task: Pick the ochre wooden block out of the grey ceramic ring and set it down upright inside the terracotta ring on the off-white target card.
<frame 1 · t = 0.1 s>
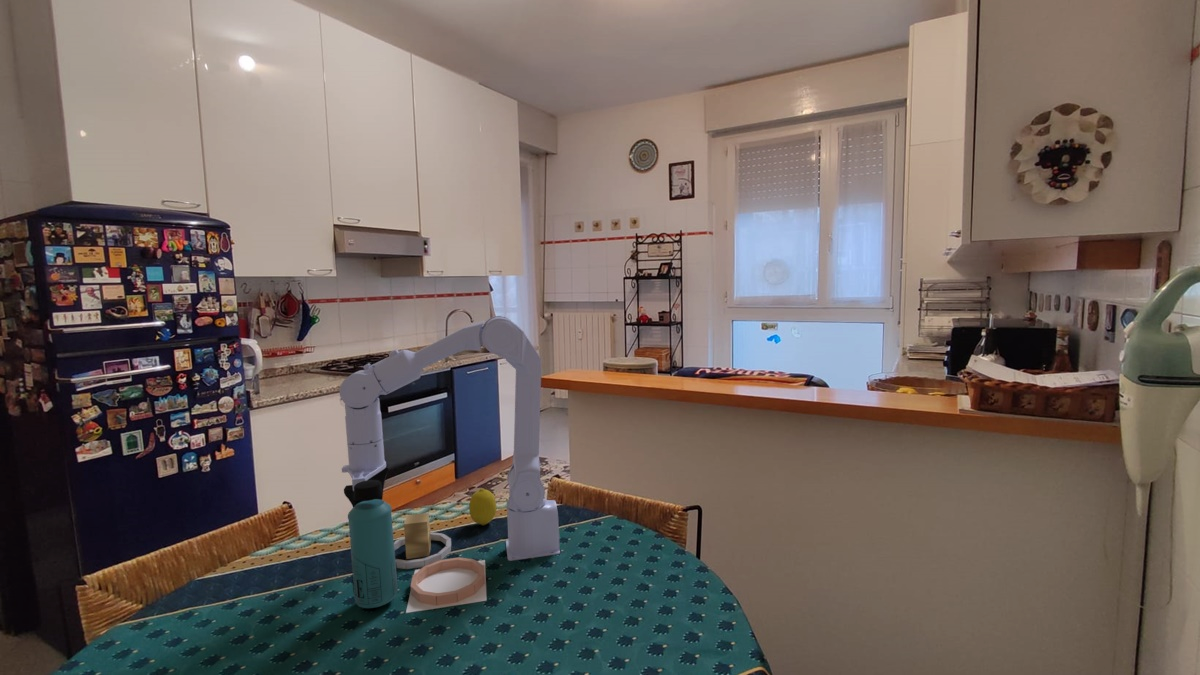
hand: (371, 515, 94), 10 cm above the table, tool pointing down, fingers open, 7 cm apart
target card: (449, 586, 89), on the table
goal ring: (448, 579, 89), on the target card
lemon: (483, 526, 112), on the table
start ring: (419, 554, 100), on the table
beverage bottle: (377, 607, 84), on the table
ochre block: (417, 536, 100), in the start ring
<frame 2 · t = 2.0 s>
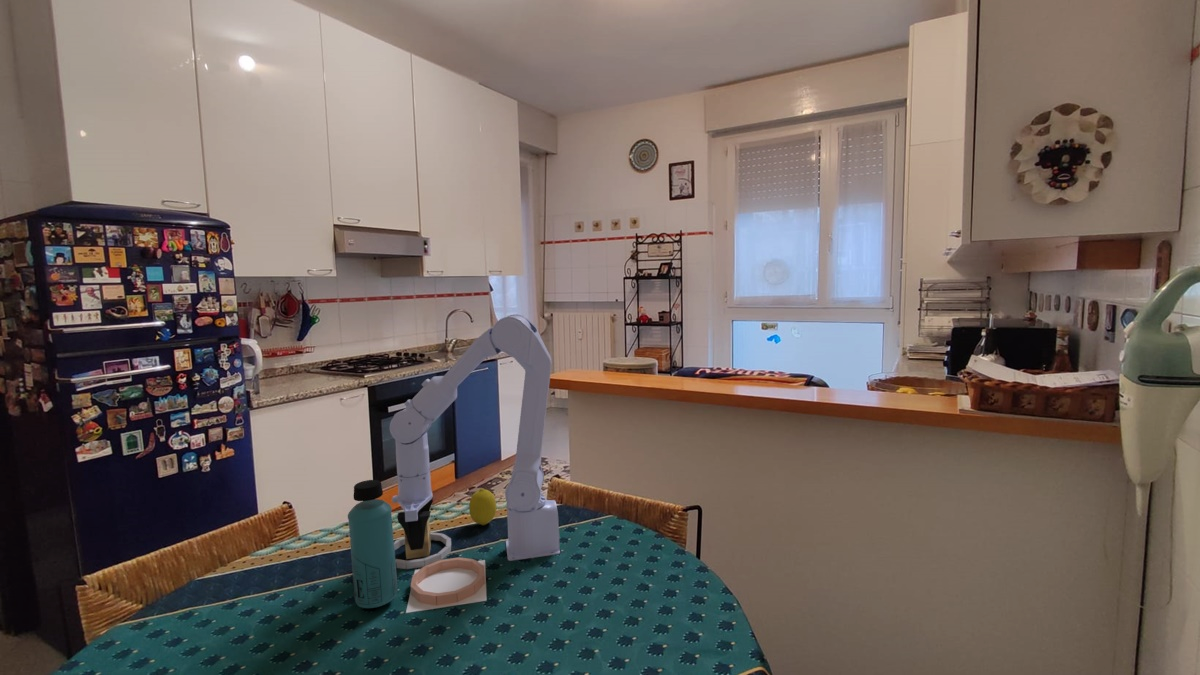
hand: (418, 542, 100), 2 cm above the table, tool pointing down, fingers closed on ochre block, 4 cm apart
ochre block: (417, 536, 100), in the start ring, touching gripper
everything else where it was.
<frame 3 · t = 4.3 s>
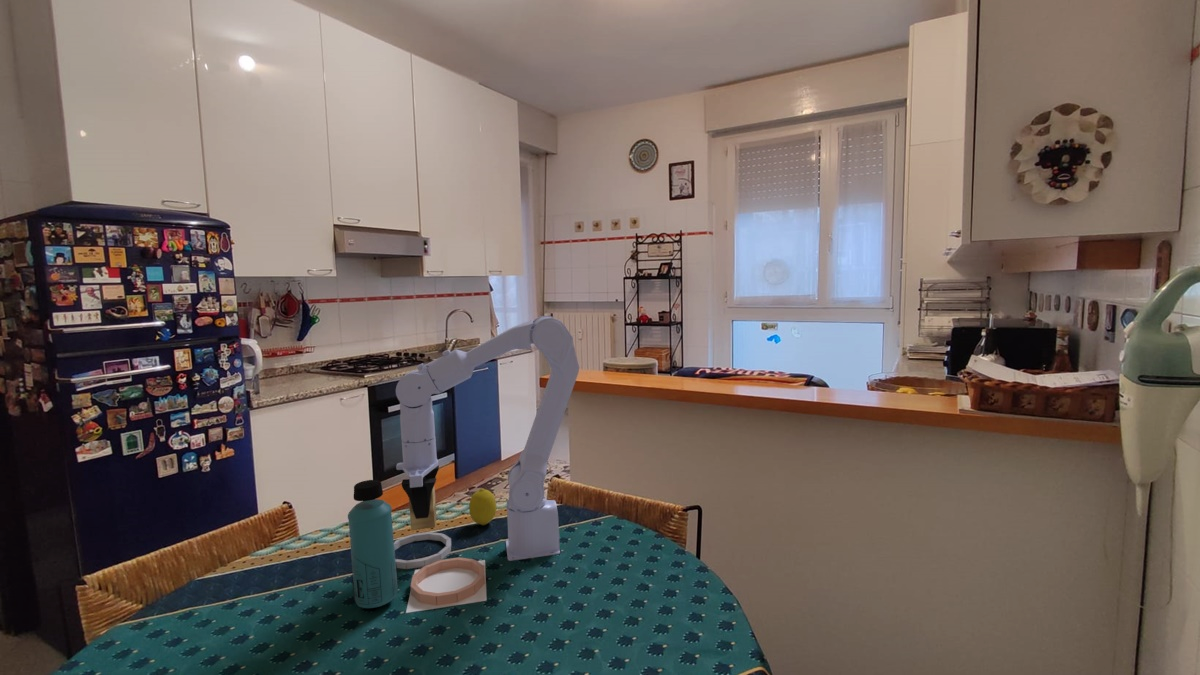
hand: (423, 512, 97), 9 cm above the table, tool pointing down, fingers closed on ochre block, 4 cm apart
ochre block: (422, 505, 97), point 11 cm above the table, touching gripper
everything else where it was.
when the fingers open (4 cm above the table, at t = 6.9 s): ochre block stays where it is, resting on target card.
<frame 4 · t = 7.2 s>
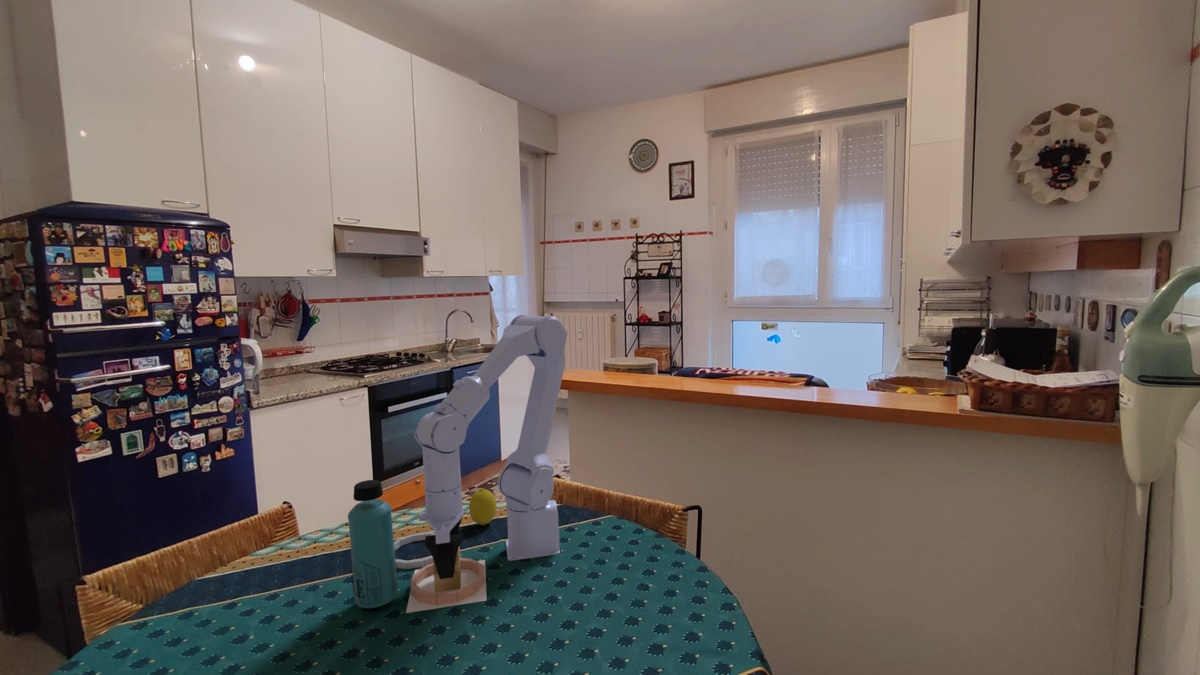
hand: (447, 565, 89), 4 cm above the table, tool pointing down, fingers open, 7 cm apart
ochre block: (447, 564, 89), in the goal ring, touching target card
everything else where it was.
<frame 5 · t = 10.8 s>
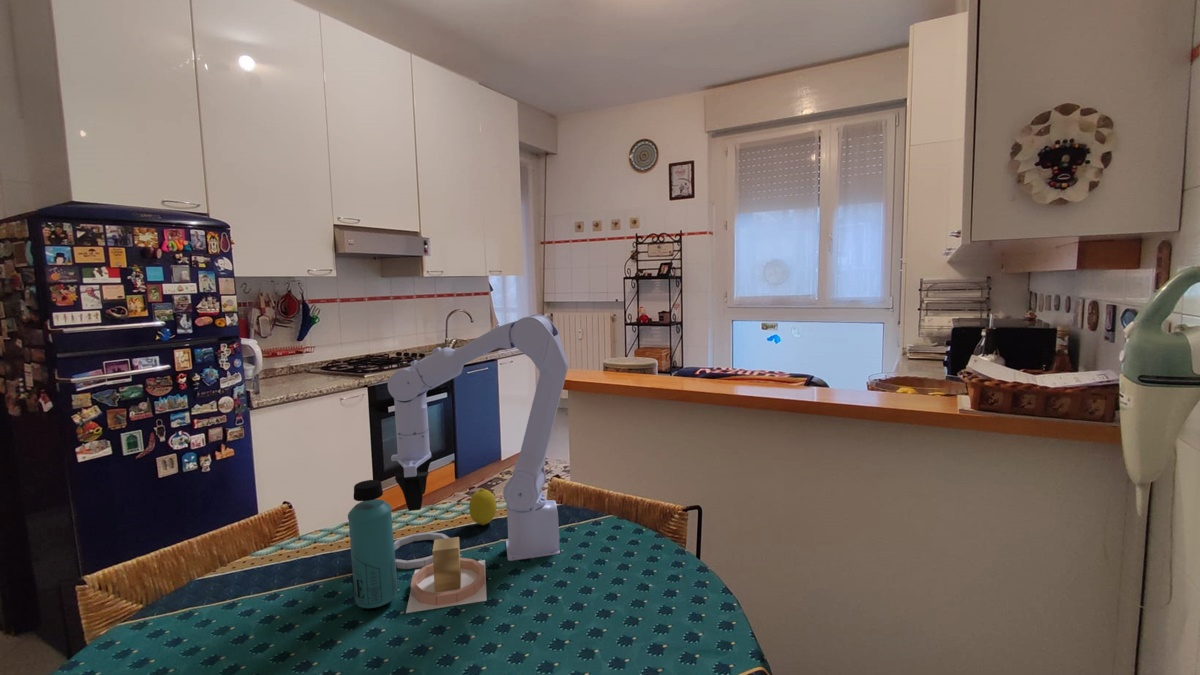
hand: (417, 501, 102), 9 cm above the table, tool pointing down, fingers open, 7 cm apart
nothing on the table moved.
at the end: ochre block 0.1 cm from the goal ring (horizontally); ochre block touching target card; ochre block tilted 0° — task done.
